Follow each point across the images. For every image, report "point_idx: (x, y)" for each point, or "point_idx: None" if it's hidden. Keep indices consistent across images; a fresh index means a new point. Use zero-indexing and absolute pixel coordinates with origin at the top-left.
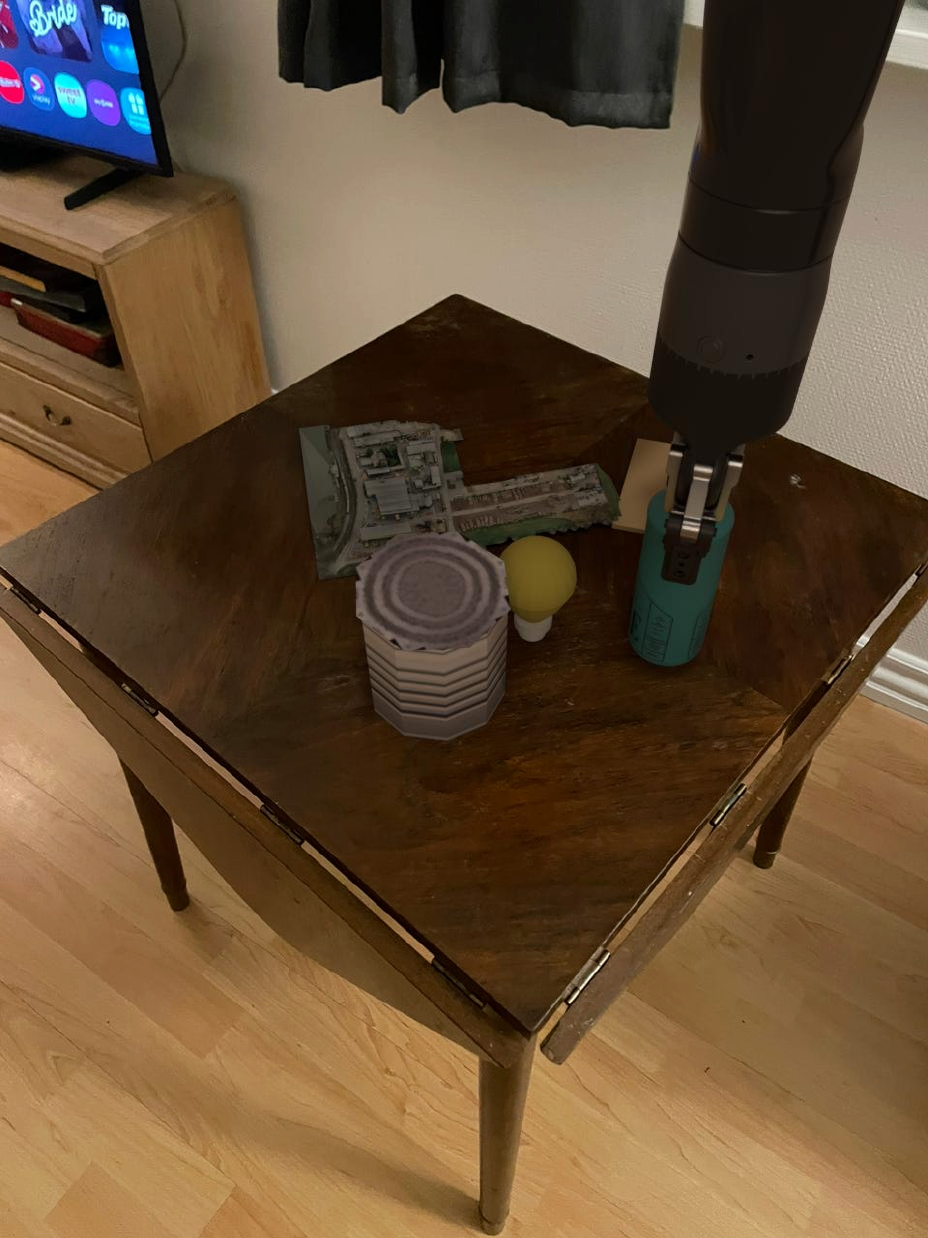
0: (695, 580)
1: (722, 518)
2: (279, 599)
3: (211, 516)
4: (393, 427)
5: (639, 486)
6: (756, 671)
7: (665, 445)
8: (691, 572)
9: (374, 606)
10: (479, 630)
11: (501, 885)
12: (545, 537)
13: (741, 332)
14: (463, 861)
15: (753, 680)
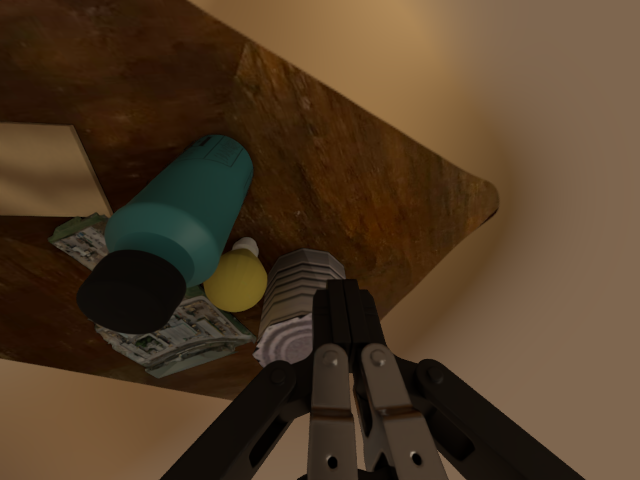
0: (356, 282)
1: (423, 418)
2: None
3: (236, 377)
4: (119, 346)
5: (47, 204)
6: (213, 72)
7: None
8: (375, 308)
9: None
10: None
11: (430, 223)
12: (211, 298)
13: None
14: (416, 242)
15: (225, 75)
